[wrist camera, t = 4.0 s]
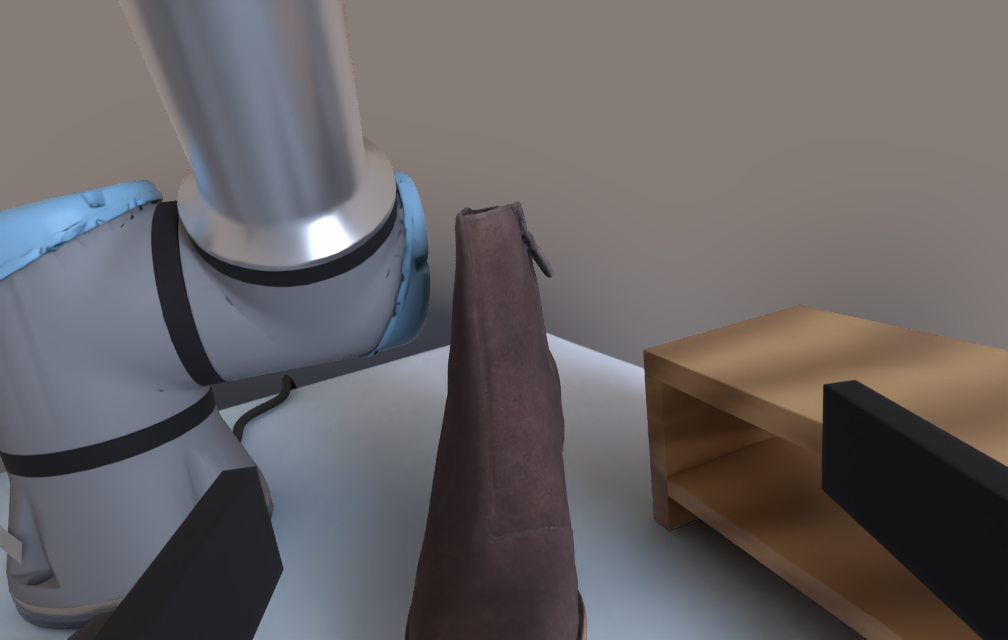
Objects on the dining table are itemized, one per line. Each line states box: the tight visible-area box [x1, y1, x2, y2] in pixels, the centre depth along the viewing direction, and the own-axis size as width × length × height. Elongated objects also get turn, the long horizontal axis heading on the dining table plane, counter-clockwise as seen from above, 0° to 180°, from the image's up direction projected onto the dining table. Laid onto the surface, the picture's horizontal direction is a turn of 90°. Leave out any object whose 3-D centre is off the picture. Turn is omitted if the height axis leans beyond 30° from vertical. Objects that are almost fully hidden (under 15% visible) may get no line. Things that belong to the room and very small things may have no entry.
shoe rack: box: [643, 305, 1008, 640], centre depth 25 cm, size 28×12×11 cm, turn 24°
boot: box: [405, 202, 587, 640], centre depth 31 cm, size 9×24×20 cm, turn 175°
